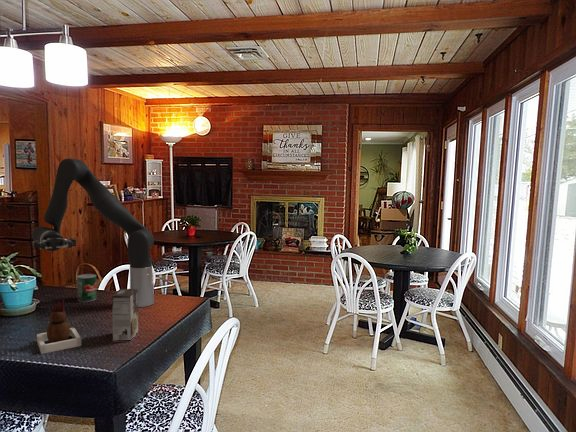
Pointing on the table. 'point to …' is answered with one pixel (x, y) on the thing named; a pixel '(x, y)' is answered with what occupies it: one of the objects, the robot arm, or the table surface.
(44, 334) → the frame
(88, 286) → the canned tomato
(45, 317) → the table surface
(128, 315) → the coffee box
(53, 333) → the wooden figurine
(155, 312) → the table surface
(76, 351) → the table surface
